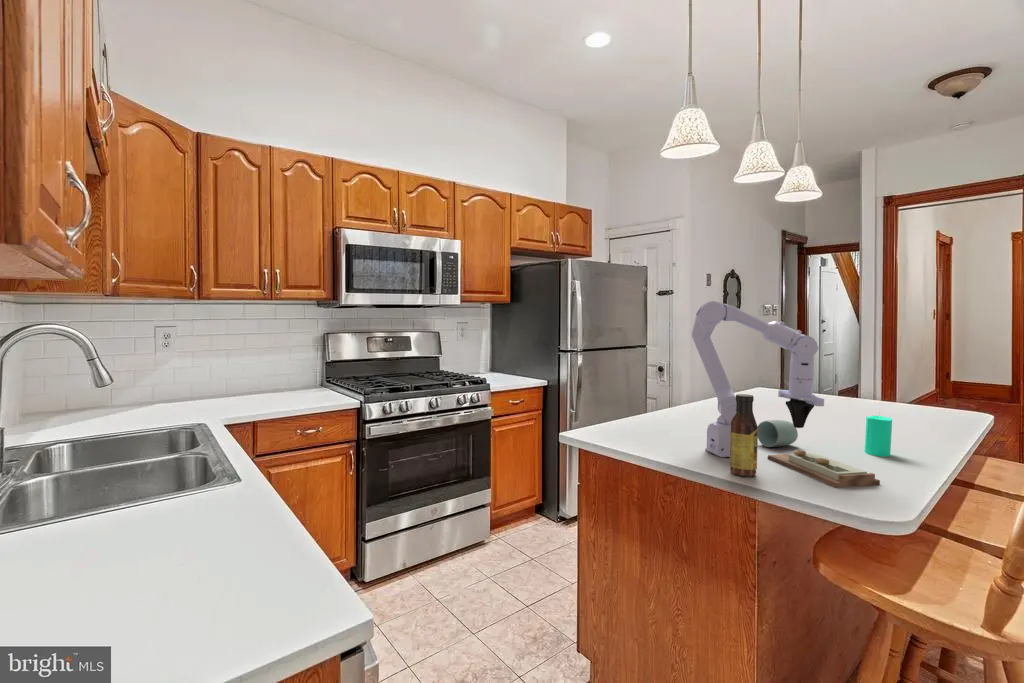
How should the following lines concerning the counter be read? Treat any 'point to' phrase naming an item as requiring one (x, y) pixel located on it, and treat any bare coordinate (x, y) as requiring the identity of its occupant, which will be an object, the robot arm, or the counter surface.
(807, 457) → the panel
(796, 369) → the robot arm
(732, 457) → the sauce bottle
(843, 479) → the board
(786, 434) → the cup
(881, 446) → the candle
